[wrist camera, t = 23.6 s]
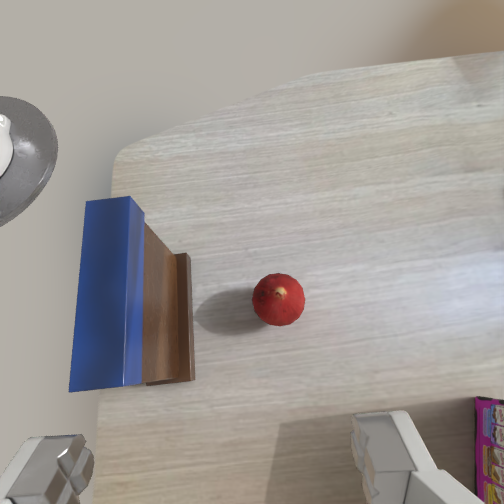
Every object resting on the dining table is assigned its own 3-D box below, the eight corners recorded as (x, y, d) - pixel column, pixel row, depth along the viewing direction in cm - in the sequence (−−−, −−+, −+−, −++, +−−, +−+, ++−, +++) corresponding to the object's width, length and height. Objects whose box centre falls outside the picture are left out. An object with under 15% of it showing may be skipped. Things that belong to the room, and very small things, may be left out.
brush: (152, 384, 35) (56, 402, 19) (153, 262, 41) (77, 196, 25) (195, 380, 35) (134, 393, 19) (190, 257, 41) (139, 189, 25)
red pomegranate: (250, 324, 37) (244, 314, 30) (258, 278, 39) (255, 258, 32) (298, 333, 36) (305, 325, 29) (304, 286, 38) (312, 268, 31)
